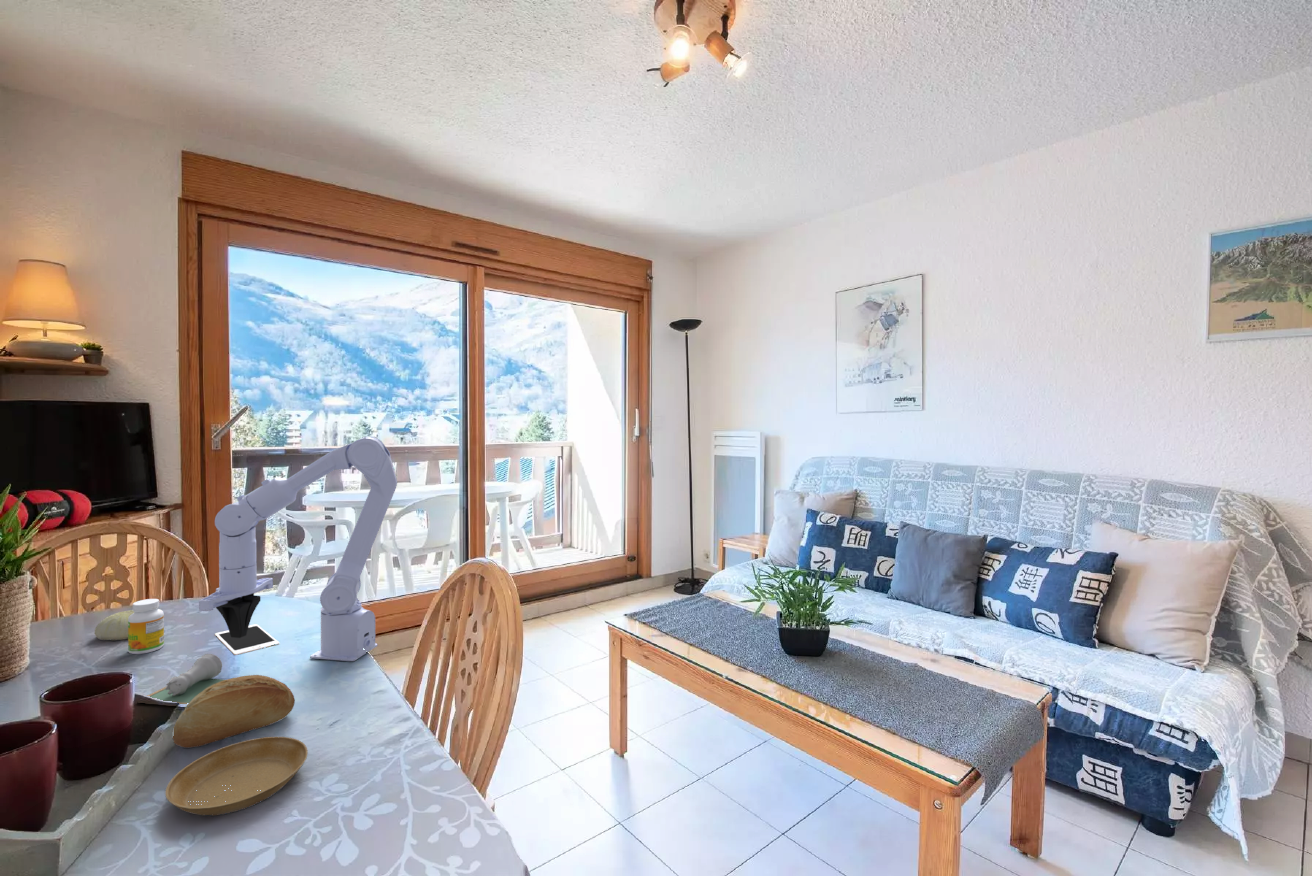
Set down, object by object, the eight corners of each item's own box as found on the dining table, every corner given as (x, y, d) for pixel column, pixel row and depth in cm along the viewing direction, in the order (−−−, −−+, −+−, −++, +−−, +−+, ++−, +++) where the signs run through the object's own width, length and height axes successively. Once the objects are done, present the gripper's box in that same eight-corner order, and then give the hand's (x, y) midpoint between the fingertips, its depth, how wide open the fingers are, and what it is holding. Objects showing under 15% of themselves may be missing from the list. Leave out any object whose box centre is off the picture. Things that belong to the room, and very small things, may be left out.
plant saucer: (237, 837, 65) (237, 815, 64) (132, 818, 67) (131, 797, 67) (333, 761, 79) (333, 743, 79) (243, 748, 82) (243, 730, 82)
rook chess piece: (223, 677, 102) (184, 703, 94) (199, 673, 102) (159, 698, 94) (224, 654, 102) (186, 678, 94) (201, 650, 102) (160, 674, 94)
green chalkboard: (248, 683, 101) (248, 680, 101) (201, 709, 92) (201, 706, 92) (188, 678, 102) (188, 676, 102) (136, 703, 93) (136, 700, 93)
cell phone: (234, 657, 112) (234, 654, 112) (214, 636, 123) (214, 633, 123) (280, 645, 118) (280, 642, 118) (256, 626, 129) (256, 623, 129)
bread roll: (301, 727, 87) (301, 676, 87) (174, 766, 77) (174, 709, 77) (288, 703, 94) (288, 656, 94) (170, 737, 84) (170, 684, 84)
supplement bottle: (122, 651, 113) (121, 603, 112) (154, 642, 118) (154, 596, 117) (137, 656, 111) (137, 607, 110) (170, 646, 116) (169, 599, 115)
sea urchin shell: (166, 622, 124) (131, 604, 119) (133, 656, 119) (95, 638, 114) (150, 614, 129) (117, 596, 124) (118, 646, 124) (82, 629, 119)
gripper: (250, 555, 115) (251, 621, 115) (183, 574, 100) (183, 650, 101) (282, 557, 114) (282, 623, 115) (218, 576, 100) (219, 652, 100)
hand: (238, 636), depth 108 cm, fingers closed
